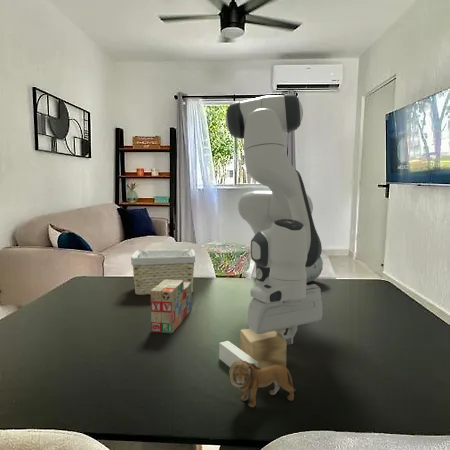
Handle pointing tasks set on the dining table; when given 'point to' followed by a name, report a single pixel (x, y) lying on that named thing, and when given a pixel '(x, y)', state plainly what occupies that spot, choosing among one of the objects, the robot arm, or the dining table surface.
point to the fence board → (233, 354)
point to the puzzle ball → (314, 270)
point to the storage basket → (161, 268)
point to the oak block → (264, 347)
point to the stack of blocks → (170, 305)
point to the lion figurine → (260, 379)
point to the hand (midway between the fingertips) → (286, 344)
